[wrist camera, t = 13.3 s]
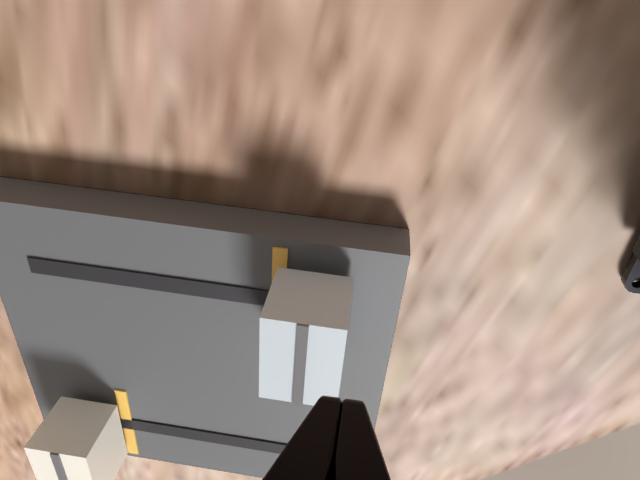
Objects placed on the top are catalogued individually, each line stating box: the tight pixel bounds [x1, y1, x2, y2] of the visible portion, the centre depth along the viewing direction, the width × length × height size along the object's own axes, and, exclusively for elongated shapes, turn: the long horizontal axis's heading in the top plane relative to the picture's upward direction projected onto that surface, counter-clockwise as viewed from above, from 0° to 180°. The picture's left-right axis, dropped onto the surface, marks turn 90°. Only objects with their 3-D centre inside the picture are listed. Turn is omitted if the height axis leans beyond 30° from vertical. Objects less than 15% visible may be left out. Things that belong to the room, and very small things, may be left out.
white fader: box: [259, 267, 354, 406], centre depth 19 cm, size 3×4×3 cm
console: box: [0, 177, 410, 478], centre depth 24 cm, size 18×16×2 cm
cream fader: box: [24, 396, 128, 480], centre depth 25 cm, size 3×4×3 cm
